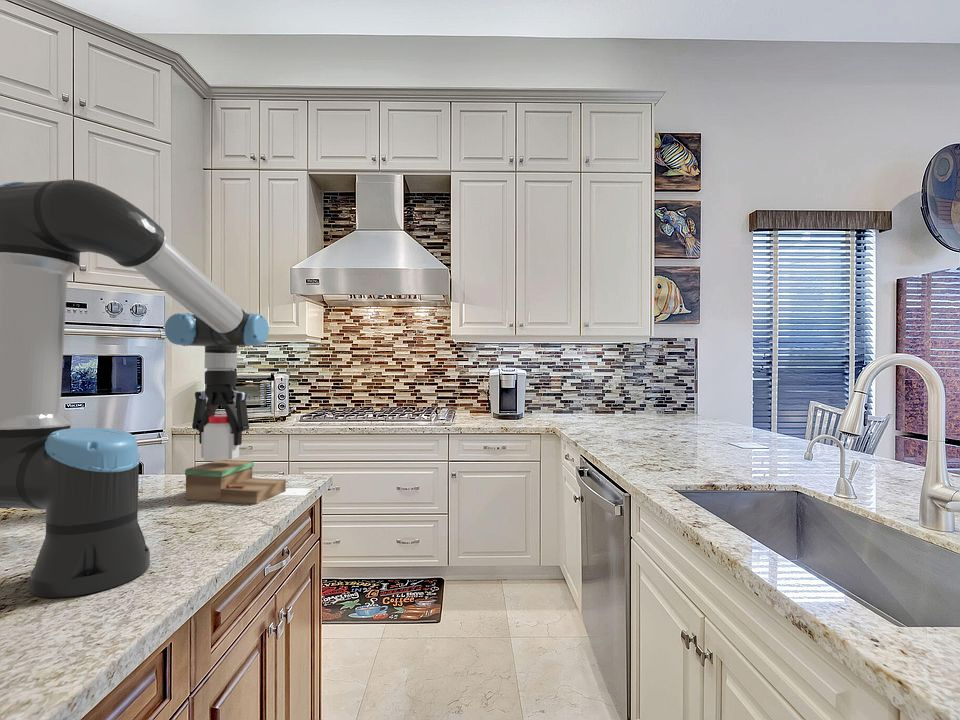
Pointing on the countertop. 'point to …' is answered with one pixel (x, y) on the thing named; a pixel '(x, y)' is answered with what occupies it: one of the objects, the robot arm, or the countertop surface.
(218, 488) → the stand
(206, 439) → the pill bottle
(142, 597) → the countertop surface
